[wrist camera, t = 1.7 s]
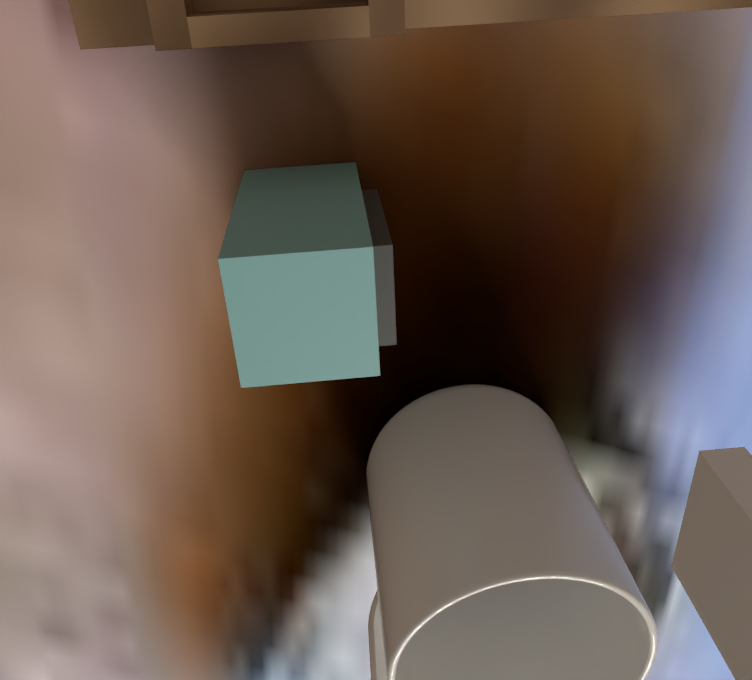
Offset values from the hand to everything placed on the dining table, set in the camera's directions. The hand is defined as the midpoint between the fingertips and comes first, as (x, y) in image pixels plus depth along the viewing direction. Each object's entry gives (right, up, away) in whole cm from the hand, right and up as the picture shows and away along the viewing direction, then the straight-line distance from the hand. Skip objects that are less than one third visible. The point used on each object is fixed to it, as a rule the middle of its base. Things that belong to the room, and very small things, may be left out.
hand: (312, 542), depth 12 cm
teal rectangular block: (-2, +8, +14) cm, 16 cm away
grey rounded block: (+4, -3, +21) cm, 21 cm away
